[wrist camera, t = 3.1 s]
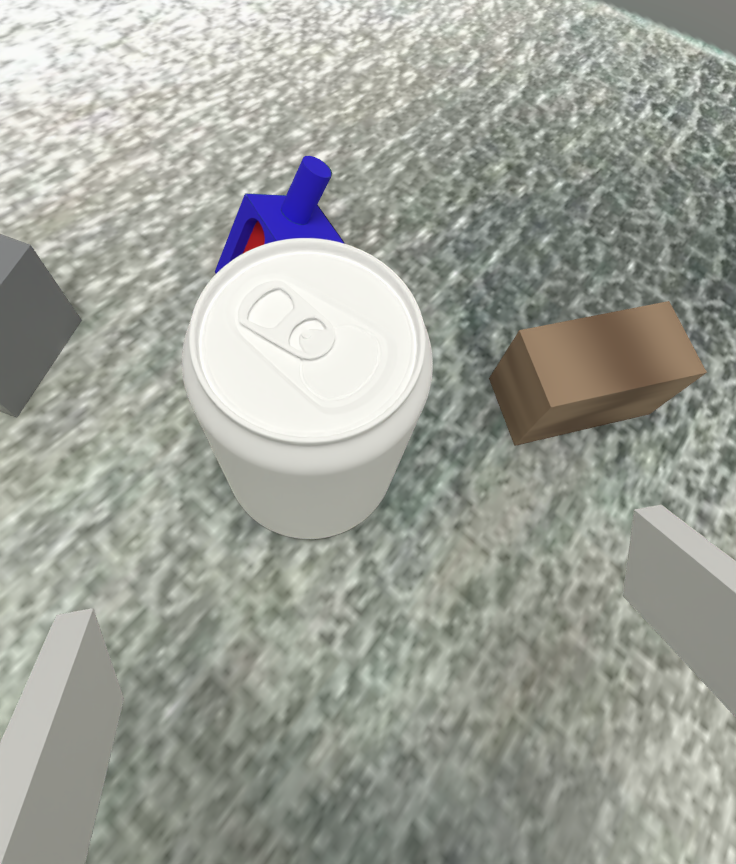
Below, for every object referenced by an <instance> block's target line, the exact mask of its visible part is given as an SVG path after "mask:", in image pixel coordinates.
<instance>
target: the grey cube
mask: <svg viewBox="0 0 736 864" xmlns="http://www.w3.org/2000/svg"><path fill="white" fill-rule="evenodd" d="M81 321H82V320H81V319H80V317H79V316H78V314H77V313H76V311H75V310H74V308H73V307H72V305H71V304H70V302H69V301H68V299H67V298H66V296H65V295H64V294H63V292H62V291H61V289H60V288H59V286H58V285H57V283H56V282H55V280H54V279H53V277H52V276H51V274H50V273H49V271H48V270H47V268H46V267H45V265H44V264H43V263H42V261H41V260H40V258H39V257H38V255H37V254H36V252H35V251H34V249H33V248H32V246H31V245H29V244H26V243H24V242H21V241H18V240H15V239H13V238H10V237H7V236H4V235H2V234H0V411H1V412H3V413H6V414H9V415H11V416H14V417H18V415H19V414H20V412H21V411H22V409H23V408H24V406H25V405H26V403H27V402H28V400H29V399H30V397H31V396H32V394H33V393H34V391H35V390H36V388H37V387H38V385H39V384H40V382H41V381H42V379H43V378H44V376H45V375H46V373H47V372H48V370H49V369H50V367H51V366H52V364H53V363H54V361H55V360H56V358H57V357H58V355H59V354H60V352H61V351H62V349H63V348H64V346H65V345H66V343H67V342H68V340H69V339H70V337H71V336H72V334H73V333H74V331H75V330H76V328H77V327H78V325H79V324H80V322H81Z"/></svg>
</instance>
